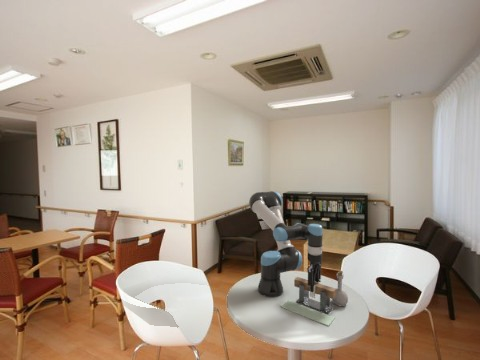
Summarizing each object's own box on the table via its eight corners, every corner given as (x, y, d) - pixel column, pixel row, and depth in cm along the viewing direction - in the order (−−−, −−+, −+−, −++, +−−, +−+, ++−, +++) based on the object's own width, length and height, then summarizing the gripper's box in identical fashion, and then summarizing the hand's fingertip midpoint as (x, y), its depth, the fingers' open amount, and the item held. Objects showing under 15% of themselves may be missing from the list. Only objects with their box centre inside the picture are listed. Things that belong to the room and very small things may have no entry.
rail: (294, 286, 144) (294, 279, 144) (297, 283, 147) (297, 276, 147) (333, 299, 130) (333, 291, 130) (336, 296, 133) (336, 288, 133)
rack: (296, 302, 142) (296, 283, 141) (301, 297, 147) (302, 279, 147) (328, 314, 130) (328, 294, 130) (332, 308, 136) (333, 289, 135)
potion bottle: (349, 307, 136) (350, 275, 135) (332, 306, 138) (332, 273, 137) (346, 299, 145) (347, 268, 144) (329, 297, 146) (330, 267, 145)
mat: (281, 306, 137) (281, 306, 137) (288, 300, 143) (288, 299, 143) (328, 326, 121) (328, 325, 121) (334, 318, 127) (334, 317, 127)
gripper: (314, 259, 128) (314, 304, 130) (327, 250, 141) (327, 291, 143) (301, 256, 133) (300, 299, 134) (314, 247, 146) (314, 287, 148)
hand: (314, 295), depth 139 cm, fingers closed on rail, 4 cm apart
